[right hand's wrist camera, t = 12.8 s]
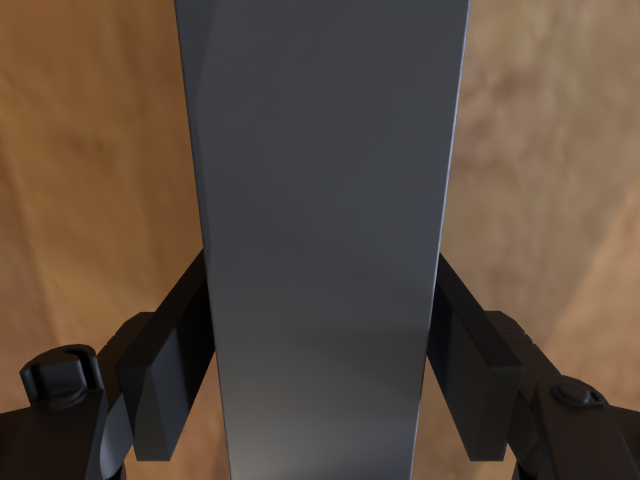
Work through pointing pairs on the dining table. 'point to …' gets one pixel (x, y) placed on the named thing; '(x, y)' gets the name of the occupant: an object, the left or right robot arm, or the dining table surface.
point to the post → (321, 220)
